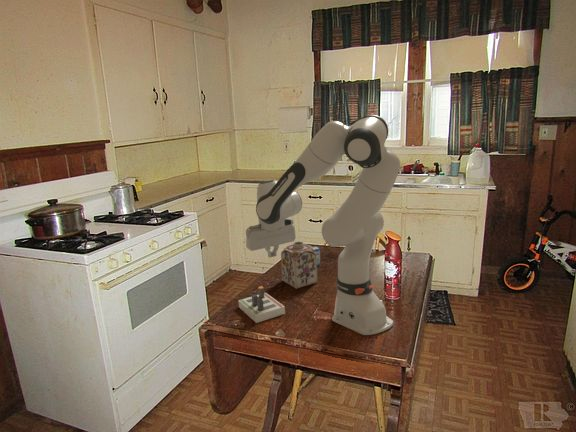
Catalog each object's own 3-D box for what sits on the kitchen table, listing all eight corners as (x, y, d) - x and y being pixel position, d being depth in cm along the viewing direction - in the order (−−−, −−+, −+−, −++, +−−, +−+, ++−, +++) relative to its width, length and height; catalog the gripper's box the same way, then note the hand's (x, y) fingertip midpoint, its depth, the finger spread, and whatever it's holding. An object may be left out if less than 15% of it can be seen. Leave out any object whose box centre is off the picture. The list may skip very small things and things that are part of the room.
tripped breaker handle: (264, 296, 164) (263, 287, 163) (260, 297, 164) (260, 288, 163) (262, 295, 166) (261, 286, 165) (258, 296, 165) (258, 287, 164)
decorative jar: (303, 274, 193) (301, 237, 189) (318, 282, 184) (317, 243, 179) (281, 280, 187) (279, 242, 183) (295, 289, 178) (294, 249, 173)
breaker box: (284, 313, 157) (284, 297, 155) (256, 323, 151) (255, 305, 150) (266, 299, 170) (265, 283, 168) (239, 307, 164) (237, 291, 162)
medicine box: (306, 268, 200) (305, 251, 198) (301, 265, 204) (301, 248, 202) (320, 265, 204) (320, 248, 201) (315, 262, 207) (315, 245, 205)
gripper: (249, 228, 152) (251, 264, 156) (296, 219, 162) (298, 253, 166) (241, 225, 157) (244, 260, 161) (288, 216, 168) (290, 249, 171)
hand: (272, 256), depth 163 cm, fingers closed
